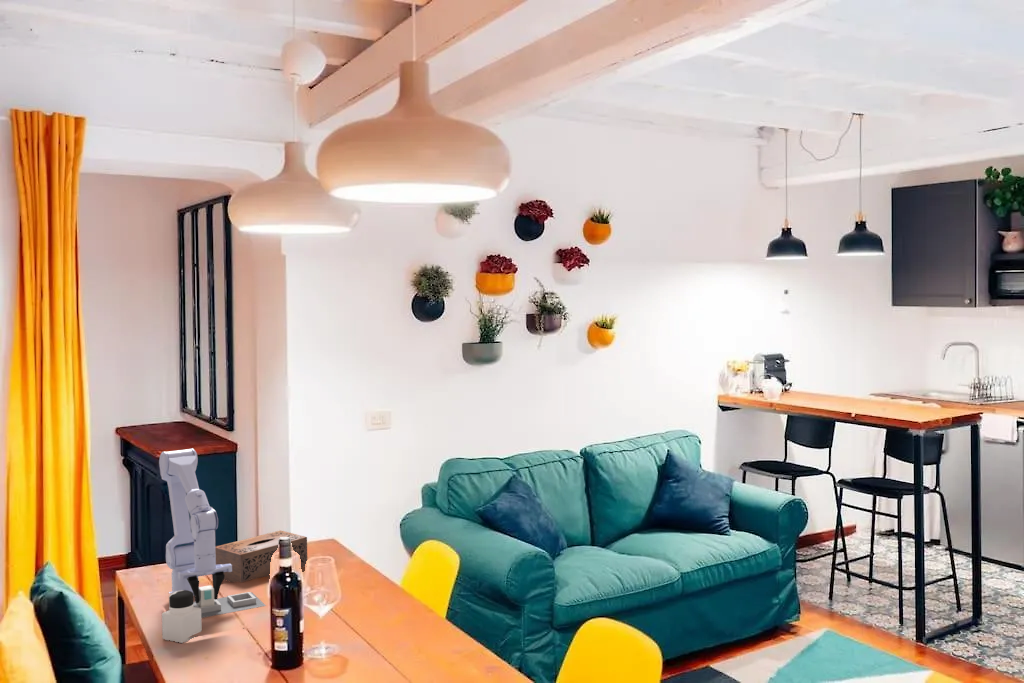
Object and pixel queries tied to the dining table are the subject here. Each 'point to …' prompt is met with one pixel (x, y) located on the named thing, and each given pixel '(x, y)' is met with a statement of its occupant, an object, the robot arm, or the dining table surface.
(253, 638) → the dining table surface
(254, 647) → the dining table surface
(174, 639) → the medicine bottle
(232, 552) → the tissue box cover
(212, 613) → the grey flat plate
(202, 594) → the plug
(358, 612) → the dining table surface
